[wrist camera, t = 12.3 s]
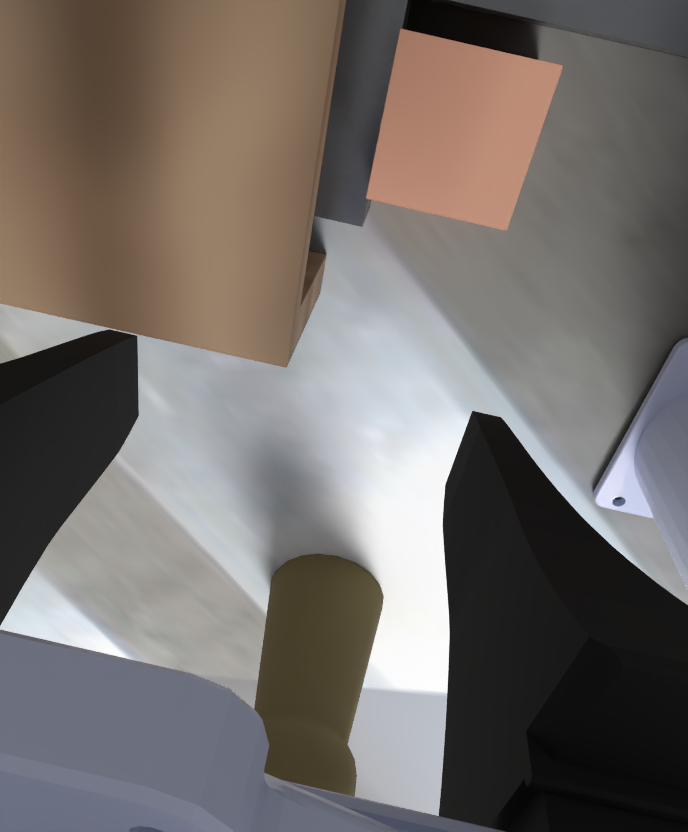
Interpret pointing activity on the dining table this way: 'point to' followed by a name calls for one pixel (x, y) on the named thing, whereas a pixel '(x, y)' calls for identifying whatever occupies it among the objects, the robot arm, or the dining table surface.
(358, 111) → the grey angled block
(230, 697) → the robot arm
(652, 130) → the dining table surface
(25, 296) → the cubby
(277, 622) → the cork
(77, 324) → the dining table surface
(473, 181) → the cube
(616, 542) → the dining table surface
